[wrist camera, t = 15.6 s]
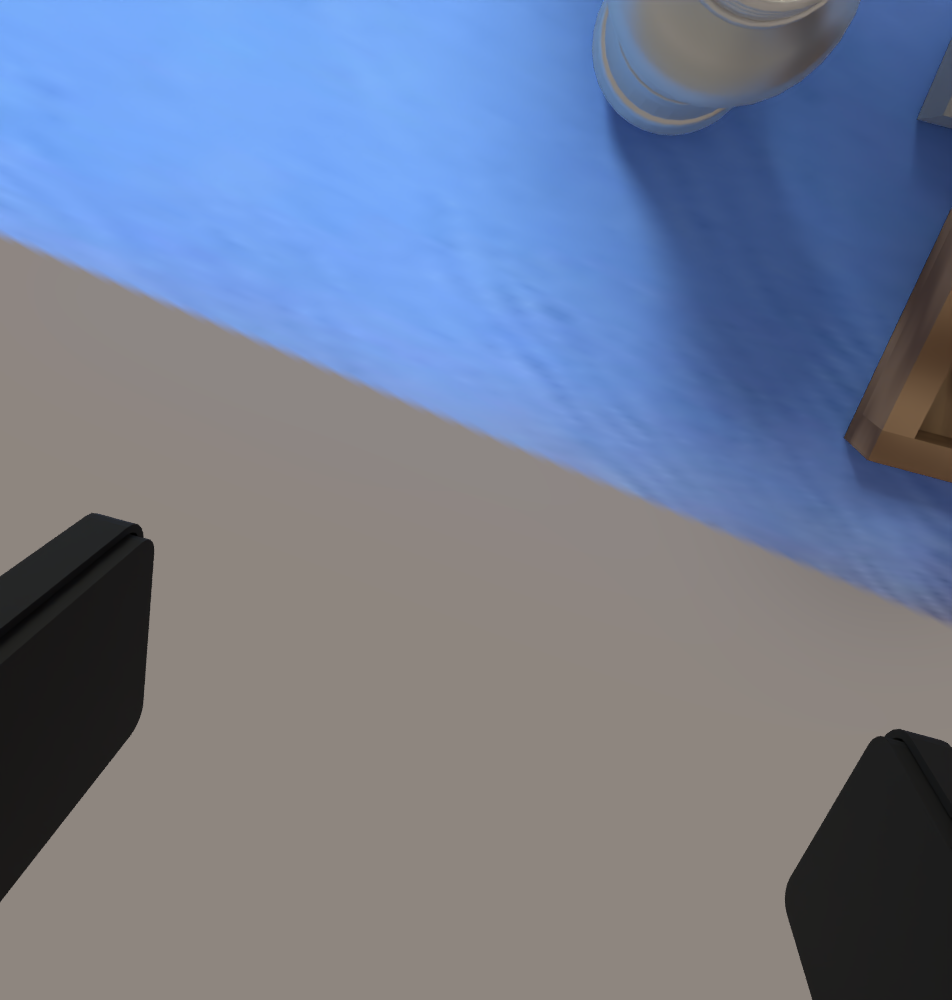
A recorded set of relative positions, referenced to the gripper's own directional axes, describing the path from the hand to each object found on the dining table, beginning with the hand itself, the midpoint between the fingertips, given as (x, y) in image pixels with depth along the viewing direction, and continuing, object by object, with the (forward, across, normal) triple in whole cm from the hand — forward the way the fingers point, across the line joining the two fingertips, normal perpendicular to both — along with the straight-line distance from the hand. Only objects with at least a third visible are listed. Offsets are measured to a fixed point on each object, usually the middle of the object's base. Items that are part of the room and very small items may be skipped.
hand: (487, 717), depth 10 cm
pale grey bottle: (+31, -2, -12) cm, 33 cm away
